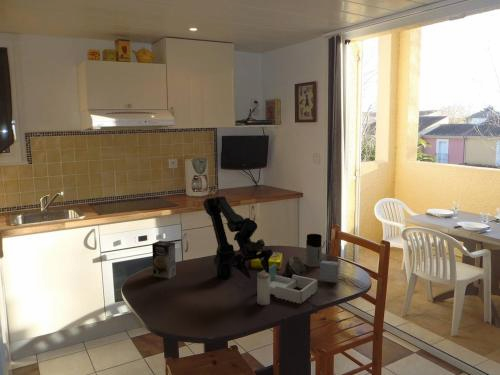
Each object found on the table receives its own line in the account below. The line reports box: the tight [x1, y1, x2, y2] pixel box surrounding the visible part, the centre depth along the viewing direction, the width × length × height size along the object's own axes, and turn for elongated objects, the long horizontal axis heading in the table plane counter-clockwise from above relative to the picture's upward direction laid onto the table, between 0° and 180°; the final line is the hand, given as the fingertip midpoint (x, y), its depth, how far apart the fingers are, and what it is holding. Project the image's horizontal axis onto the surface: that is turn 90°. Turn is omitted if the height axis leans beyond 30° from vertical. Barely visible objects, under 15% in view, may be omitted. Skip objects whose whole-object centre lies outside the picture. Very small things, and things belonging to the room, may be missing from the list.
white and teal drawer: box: [256, 264, 297, 296], centre depth 190 cm, size 12×15×8 cm
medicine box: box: [319, 260, 340, 284], centre depth 200 cm, size 8×4×9 cm, turn 71°
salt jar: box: [256, 271, 271, 306], centre depth 177 cm, size 5×5×12 cm
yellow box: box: [250, 251, 283, 270], centre depth 224 cm, size 15×15×5 cm
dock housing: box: [274, 274, 319, 305], centre depth 185 cm, size 12×16×5 cm
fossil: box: [284, 255, 307, 277], centre depth 209 cm, size 11×9×10 cm
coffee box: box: [151, 240, 177, 279], centre depth 207 cm, size 9×6×16 cm
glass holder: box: [304, 233, 333, 268], centre depth 221 cm, size 9×14×15 cm, turn 54°
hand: (259, 275), depth 179 cm, fingers open, 9 cm apart
